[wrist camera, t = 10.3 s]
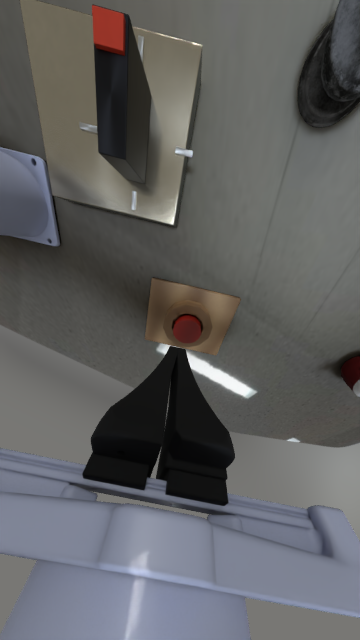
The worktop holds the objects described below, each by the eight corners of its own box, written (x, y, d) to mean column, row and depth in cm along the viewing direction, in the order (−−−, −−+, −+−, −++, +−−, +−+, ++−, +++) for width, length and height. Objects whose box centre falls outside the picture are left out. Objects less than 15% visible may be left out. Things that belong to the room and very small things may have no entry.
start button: (172, 333, 20) (170, 340, 19) (177, 311, 19) (175, 316, 17) (196, 339, 20) (196, 346, 19) (203, 317, 19) (204, 323, 17)
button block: (145, 337, 24) (140, 346, 21) (153, 276, 19) (147, 280, 17) (215, 352, 24) (217, 363, 22) (239, 297, 19) (245, 304, 17)
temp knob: (144, 183, 13) (124, 157, 9) (124, 178, 13) (95, 150, 9) (151, 93, 10) (126, 6, 7) (127, 86, 10) (88, -5, 6)
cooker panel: (71, 202, 16) (50, 194, 13) (52, 43, 11) (15, -11, 9) (181, 229, 16) (179, 226, 14) (208, 85, 11) (211, 44, 9)
